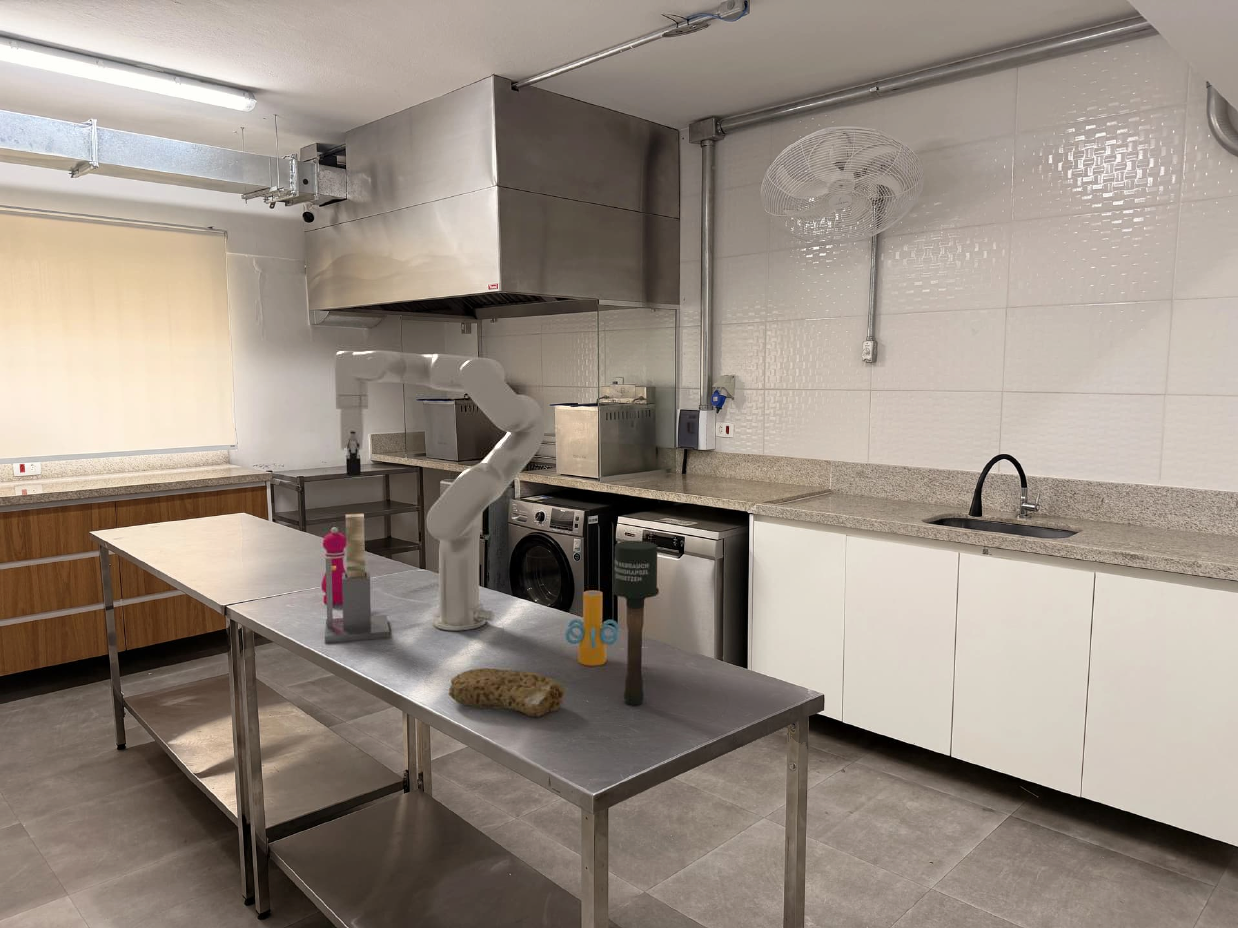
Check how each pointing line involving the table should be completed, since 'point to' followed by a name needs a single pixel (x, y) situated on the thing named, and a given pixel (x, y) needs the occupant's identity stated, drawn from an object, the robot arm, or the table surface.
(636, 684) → the stick grenade
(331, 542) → the pepper mill
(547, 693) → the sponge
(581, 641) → the orange tube with rings
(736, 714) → the table surface
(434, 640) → the table surface
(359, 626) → the grey socket stand
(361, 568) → the post
